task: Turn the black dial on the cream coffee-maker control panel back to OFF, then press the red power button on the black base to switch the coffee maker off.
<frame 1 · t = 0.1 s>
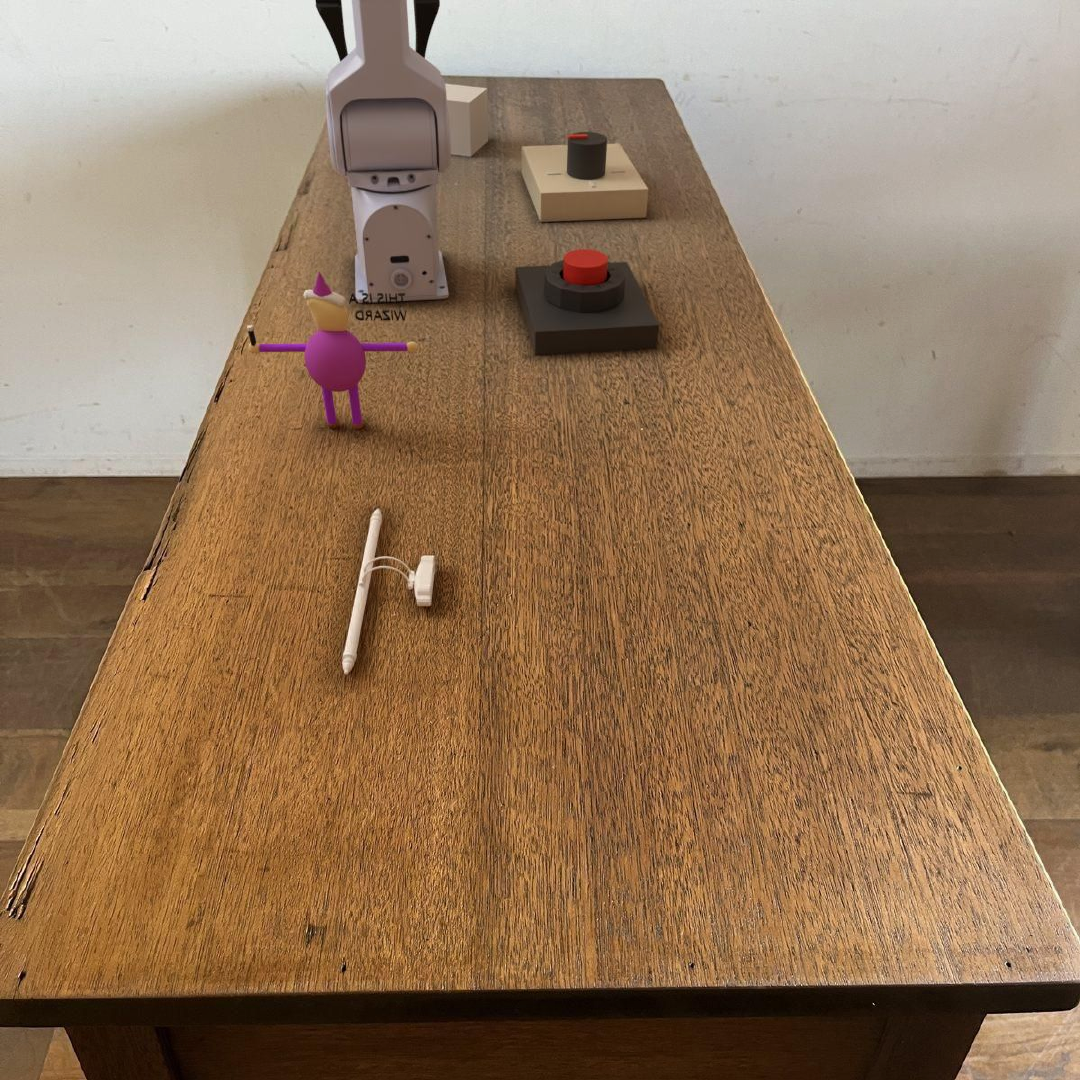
hand: (383, 72, 104), 10 cm above the table, tool pointing down, fingers open, 7 cm apart
picture light: (395, 591, 57), on the table
warmer dial: (586, 154, 101), point 5 cm above the table, hinge at 90.0°
beige cube: (456, 147, 117), on the table
wizard figurine: (344, 433, 70), on the table
power button: (585, 267, 81), point 5 cm above the table, slide at 0.2 cm
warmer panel: (581, 194, 105), on the table
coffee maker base: (582, 318, 84), on the table
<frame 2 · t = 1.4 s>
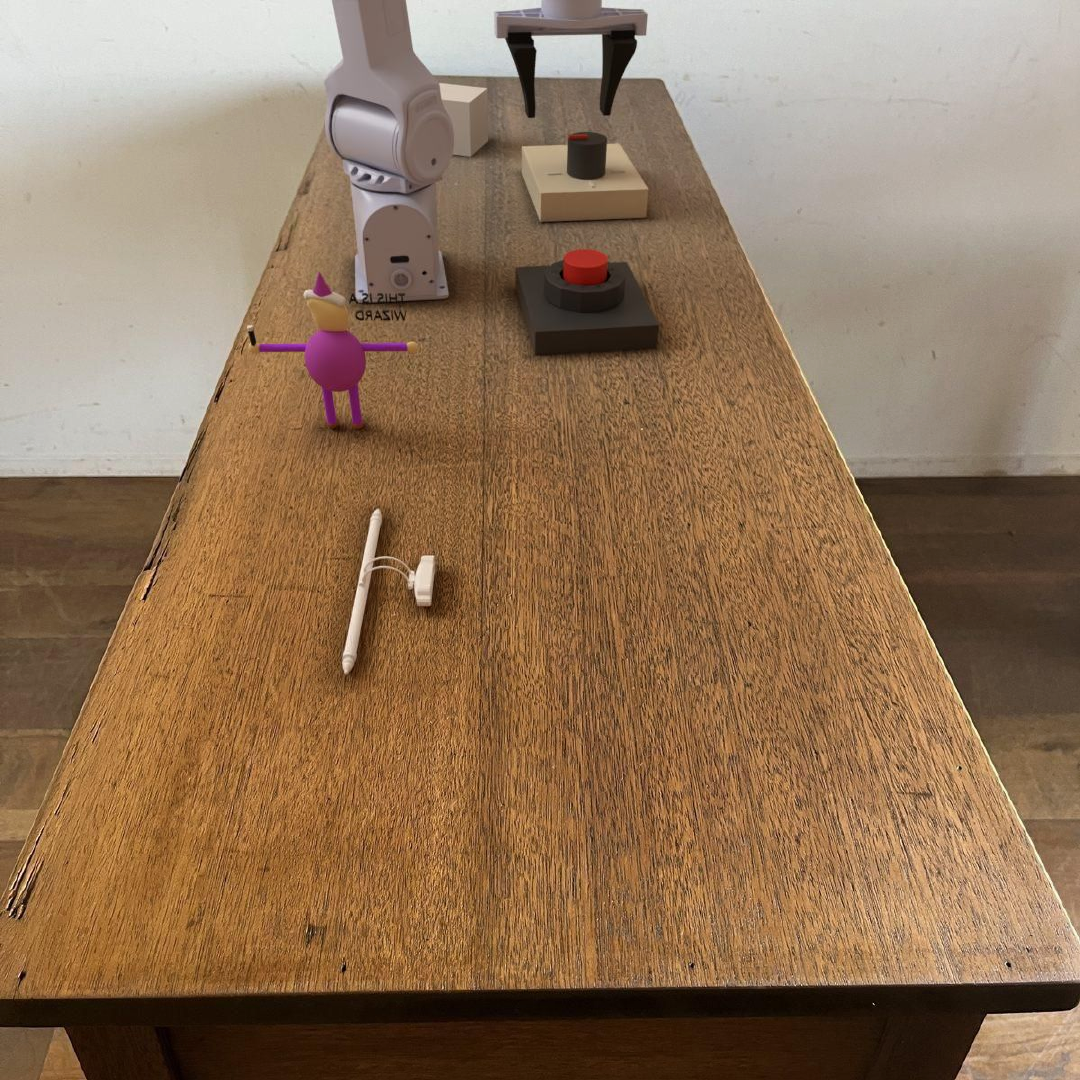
hand: (567, 113, 99), 9 cm above the table, tool pointing down, fingers open, 7 cm apart
nothing on the table moved.
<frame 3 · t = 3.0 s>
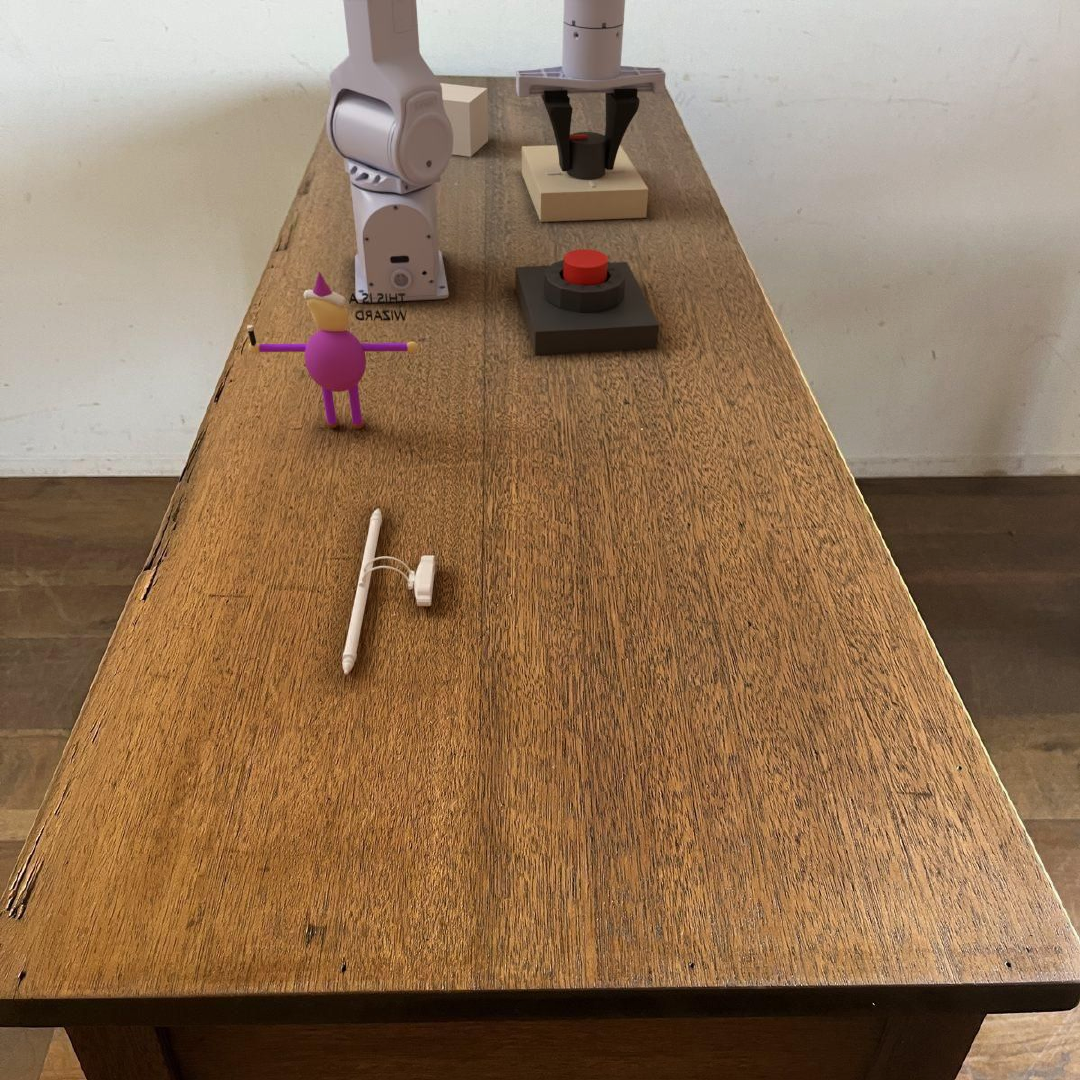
hand: (586, 167, 102), 4 cm above the table, tool pointing down, fingers closed on warmer dial, 4 cm apart
warmer dial: (586, 154, 101), point 5 cm above the table, hinge at 90.1°, touching gripper
everything else where it was.
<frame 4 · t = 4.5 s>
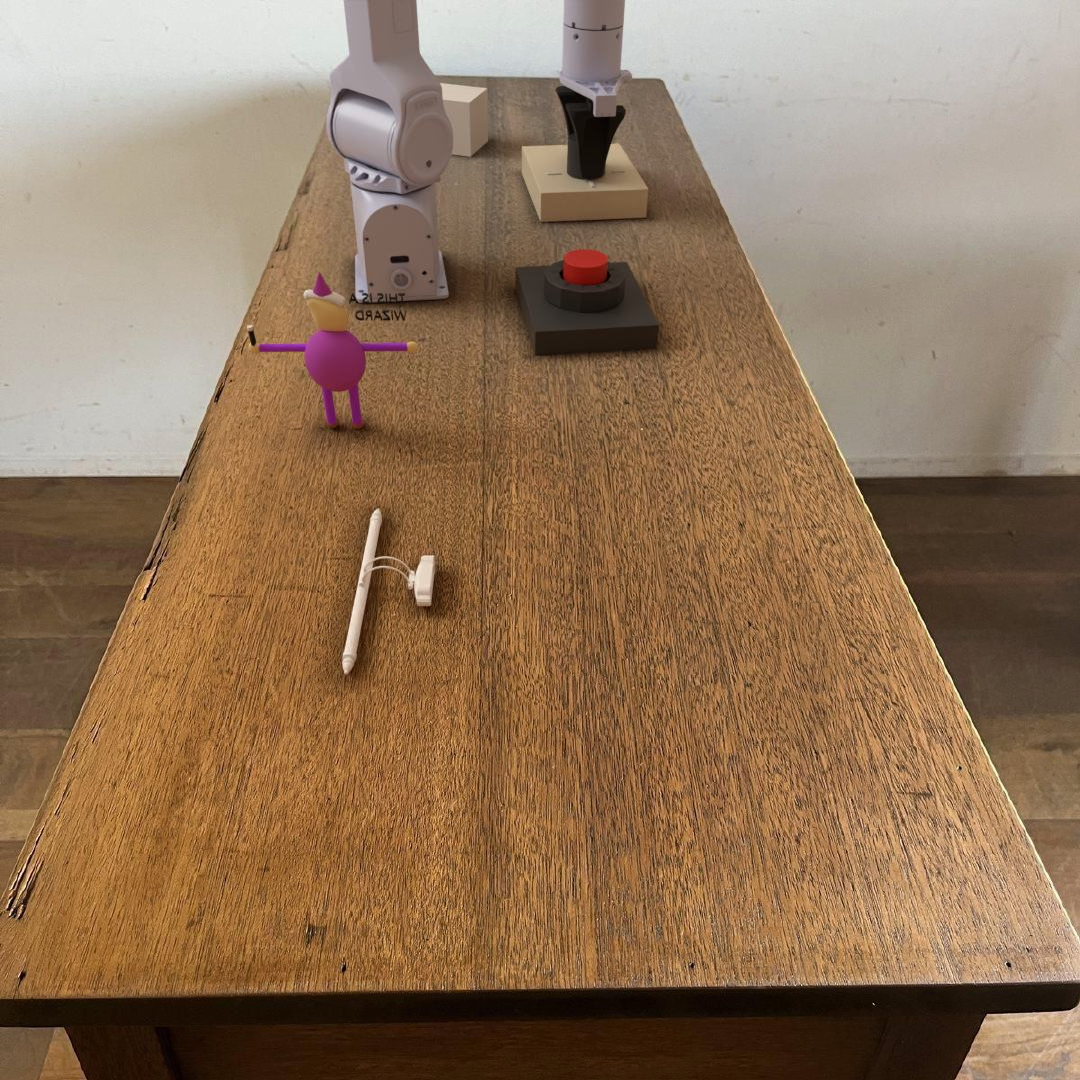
hand: (586, 168, 102), 3 cm above the table, tool pointing down, fingers closed on warmer dial, 4 cm apart
warmer dial: (586, 154, 101), point 5 cm above the table, hinge at 1.0°, touching gripper
everything else where it was.
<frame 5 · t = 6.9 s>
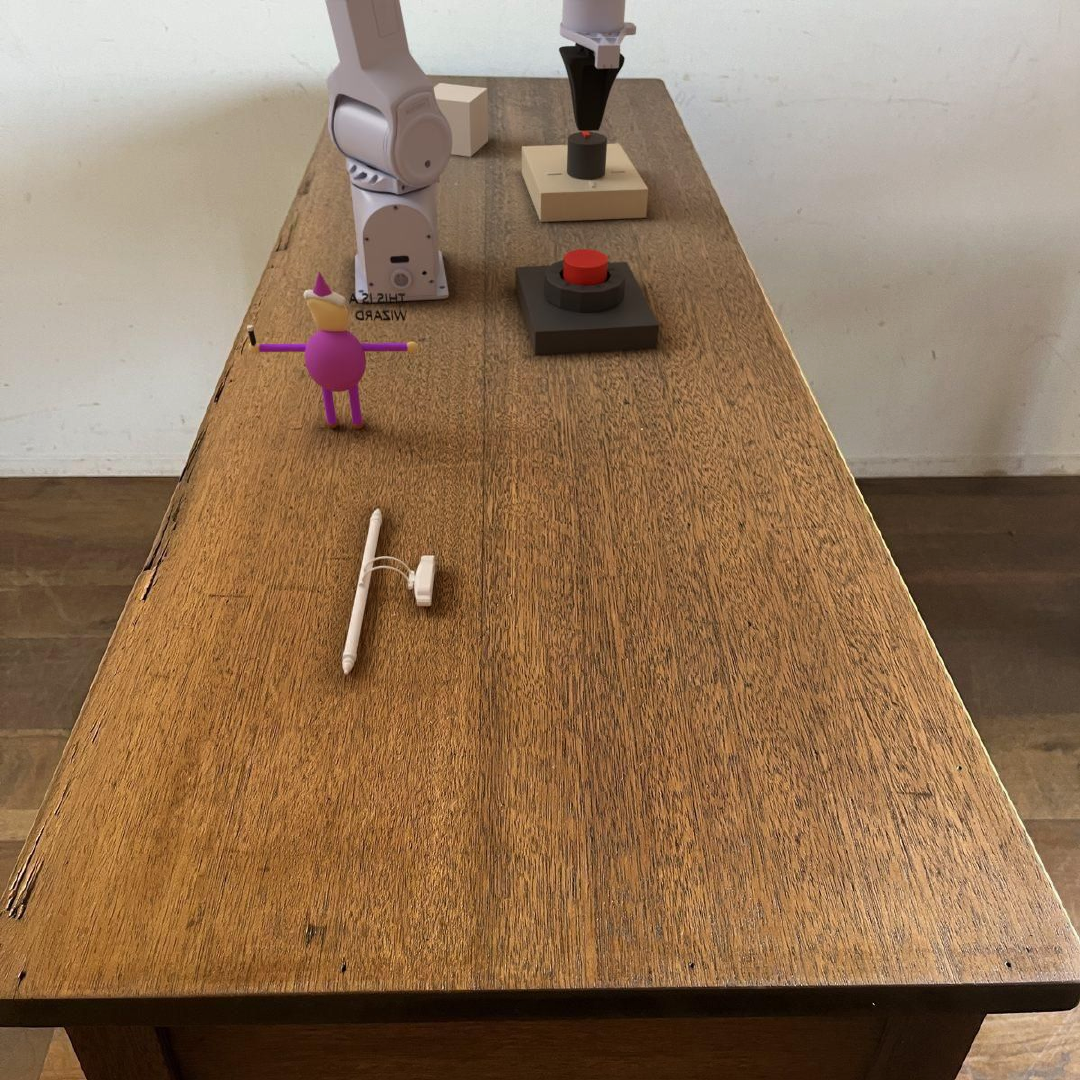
hand: (587, 128, 97), 8 cm above the table, tool pointing down, fingers closed
warmer dial: (586, 154, 101), point 5 cm above the table, hinge at 0.3°
everything else where it was.
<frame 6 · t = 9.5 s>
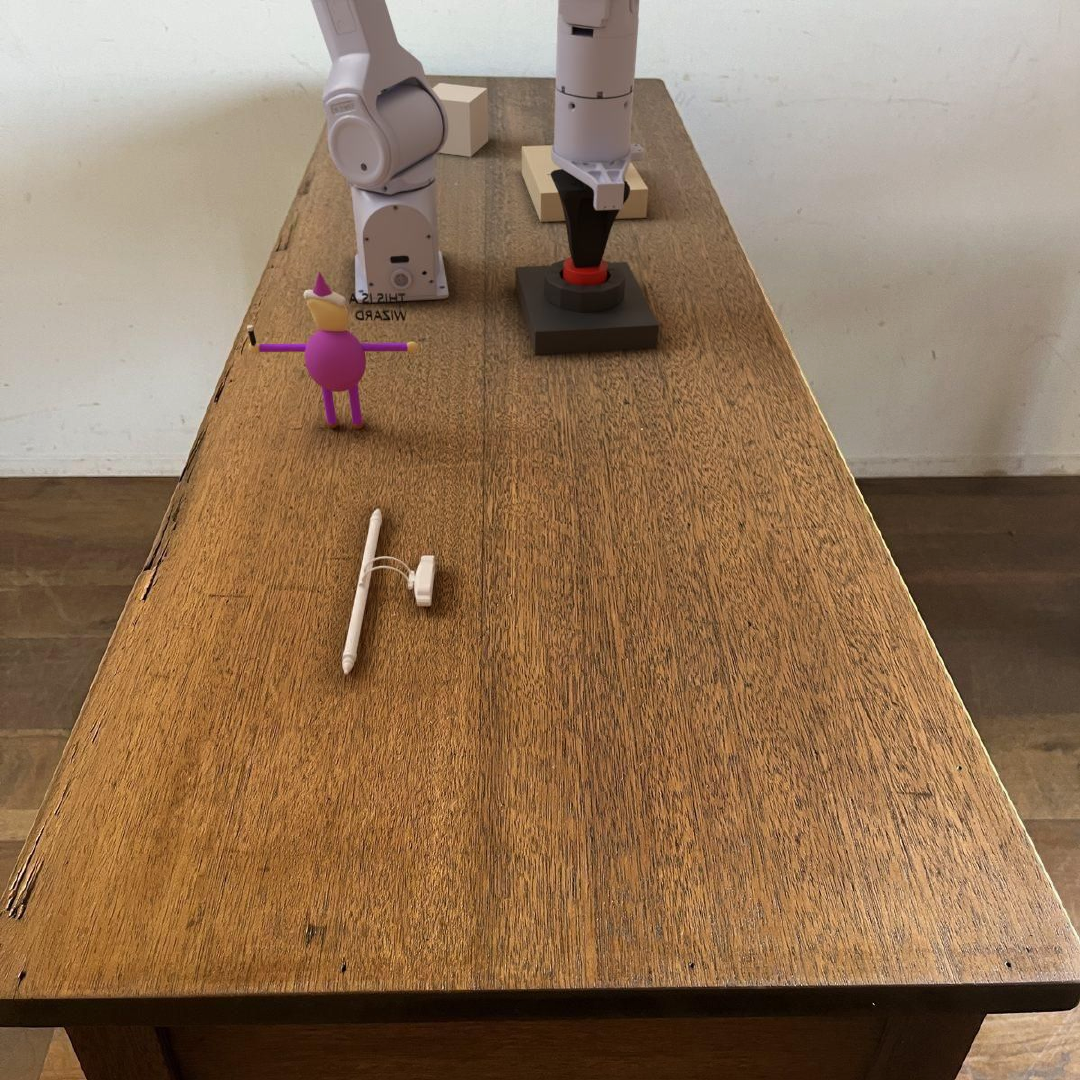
hand: (585, 264, 80), 5 cm above the table, tool pointing down, fingers closed, pressing on power button
power button: (585, 273, 81), point 4 cm above the table, slide at -0.4 cm, touching gripper
everything else where it was.
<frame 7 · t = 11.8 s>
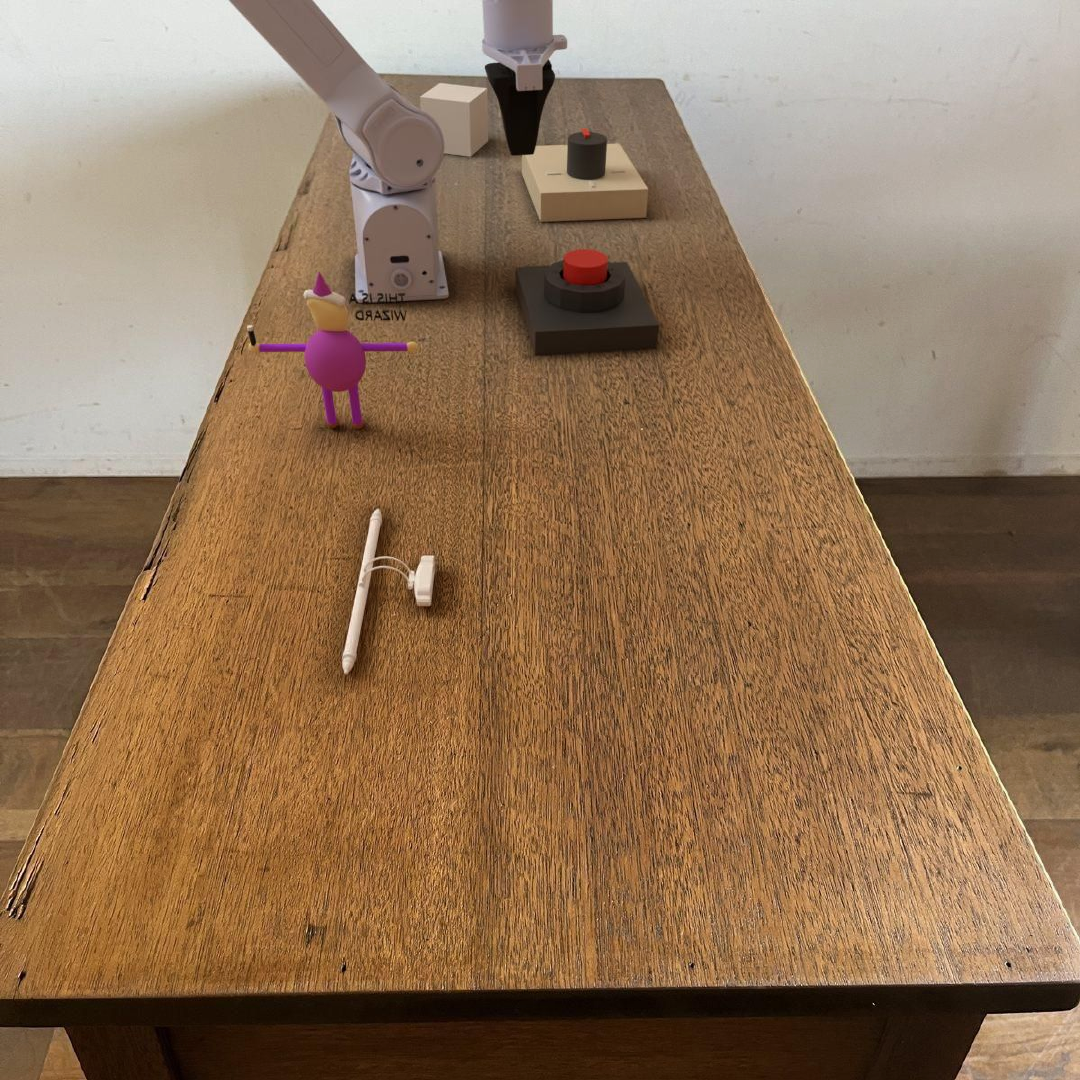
hand: (521, 152, 87), 9 cm above the table, tool pointing down, fingers closed
power button: (585, 267, 81), point 5 cm above the table, slide at 0.2 cm
everything else where it was.
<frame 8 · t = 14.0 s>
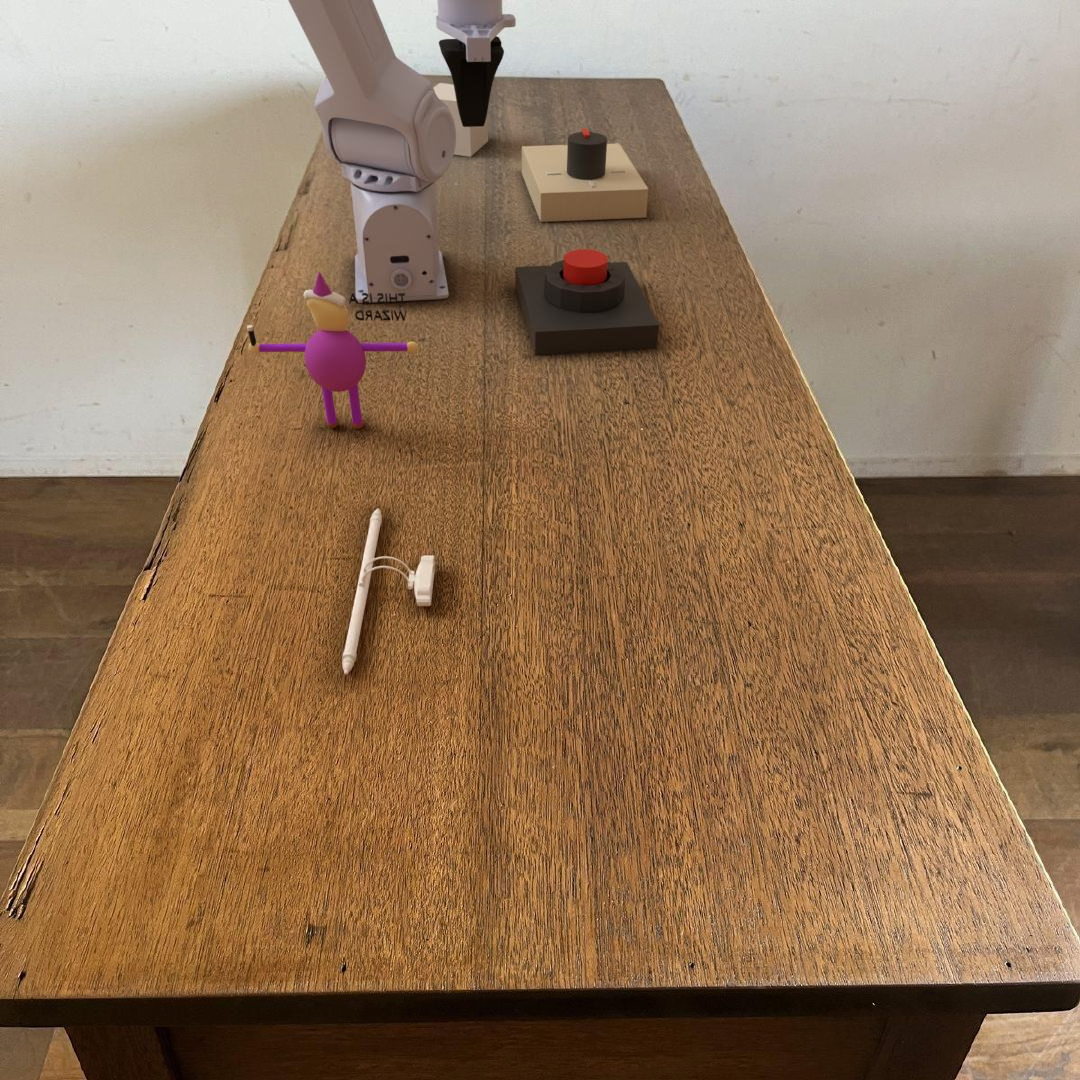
hand: (472, 124, 93), 9 cm above the table, tool pointing down, fingers closed
nothing on the table moved.
at the end: warmer dial at +0° (first picture: +90°); power button pushed in 1.2 cm at the most during the clip, back to 0.2 cm at the end; power button slide at 0.2 cm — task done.
